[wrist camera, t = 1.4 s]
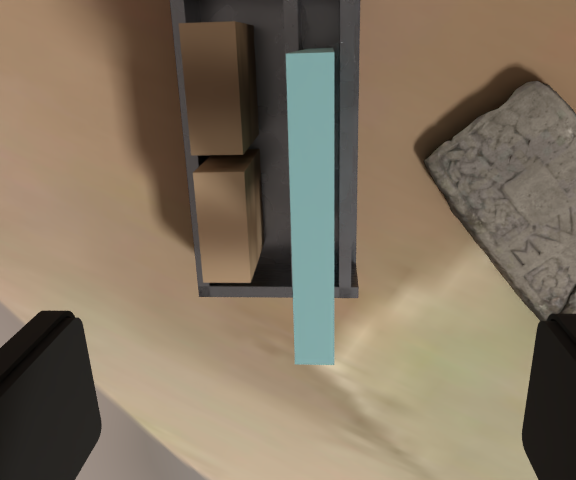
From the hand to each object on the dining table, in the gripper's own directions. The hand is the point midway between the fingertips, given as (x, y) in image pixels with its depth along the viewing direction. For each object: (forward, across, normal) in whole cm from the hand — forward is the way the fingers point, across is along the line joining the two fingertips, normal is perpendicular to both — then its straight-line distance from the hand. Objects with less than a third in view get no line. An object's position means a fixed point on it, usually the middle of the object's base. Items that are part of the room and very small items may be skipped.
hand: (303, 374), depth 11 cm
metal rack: (+28, +3, 0) cm, 28 cm away
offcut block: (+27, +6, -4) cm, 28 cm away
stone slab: (+29, -20, +10) cm, 36 cm away
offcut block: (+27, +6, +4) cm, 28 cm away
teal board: (+27, 0, 0) cm, 27 cm away
